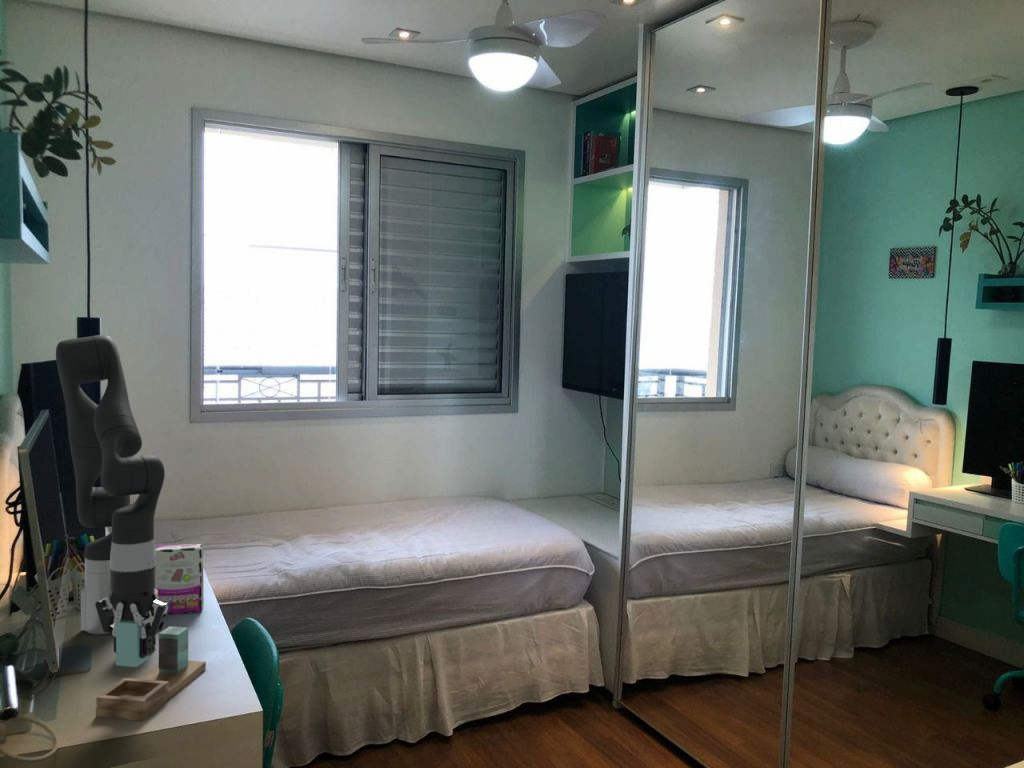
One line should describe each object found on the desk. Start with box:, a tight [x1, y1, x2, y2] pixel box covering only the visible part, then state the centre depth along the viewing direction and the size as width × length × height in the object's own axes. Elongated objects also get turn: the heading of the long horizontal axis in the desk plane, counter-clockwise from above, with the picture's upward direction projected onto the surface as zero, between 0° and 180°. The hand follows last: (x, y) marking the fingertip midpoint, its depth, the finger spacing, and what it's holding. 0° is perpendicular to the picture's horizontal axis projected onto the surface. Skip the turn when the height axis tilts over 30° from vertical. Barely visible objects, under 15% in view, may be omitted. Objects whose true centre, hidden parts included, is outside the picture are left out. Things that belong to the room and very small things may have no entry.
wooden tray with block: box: [95, 625, 207, 722], centre depth 157 cm, size 9×23×10 cm, turn 173°
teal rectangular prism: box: [115, 617, 150, 668], centre depth 150 cm, size 4×4×8 cm
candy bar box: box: [154, 543, 205, 615], centre depth 202 cm, size 11×5×16 cm, turn 105°
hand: (132, 655), depth 150 cm, fingers closed on teal rectangular prism, 4 cm apart
